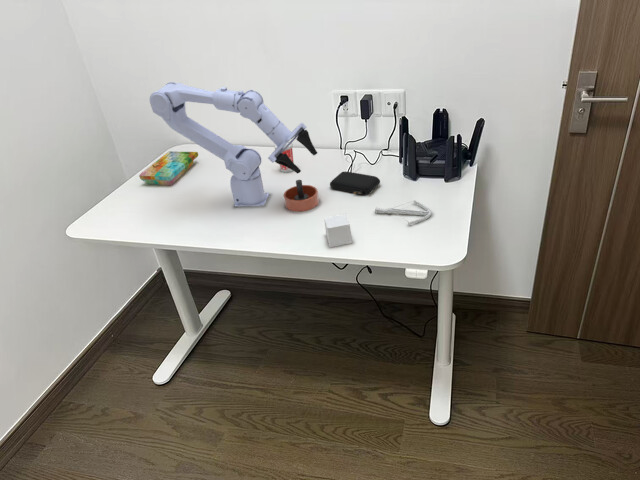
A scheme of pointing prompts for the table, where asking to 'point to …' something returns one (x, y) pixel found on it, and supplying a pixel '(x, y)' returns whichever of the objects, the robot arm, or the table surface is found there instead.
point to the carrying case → (355, 183)
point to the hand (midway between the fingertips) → (307, 163)
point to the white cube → (338, 230)
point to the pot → (301, 204)
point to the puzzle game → (168, 168)
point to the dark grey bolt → (300, 191)
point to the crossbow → (407, 212)
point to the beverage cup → (289, 154)
